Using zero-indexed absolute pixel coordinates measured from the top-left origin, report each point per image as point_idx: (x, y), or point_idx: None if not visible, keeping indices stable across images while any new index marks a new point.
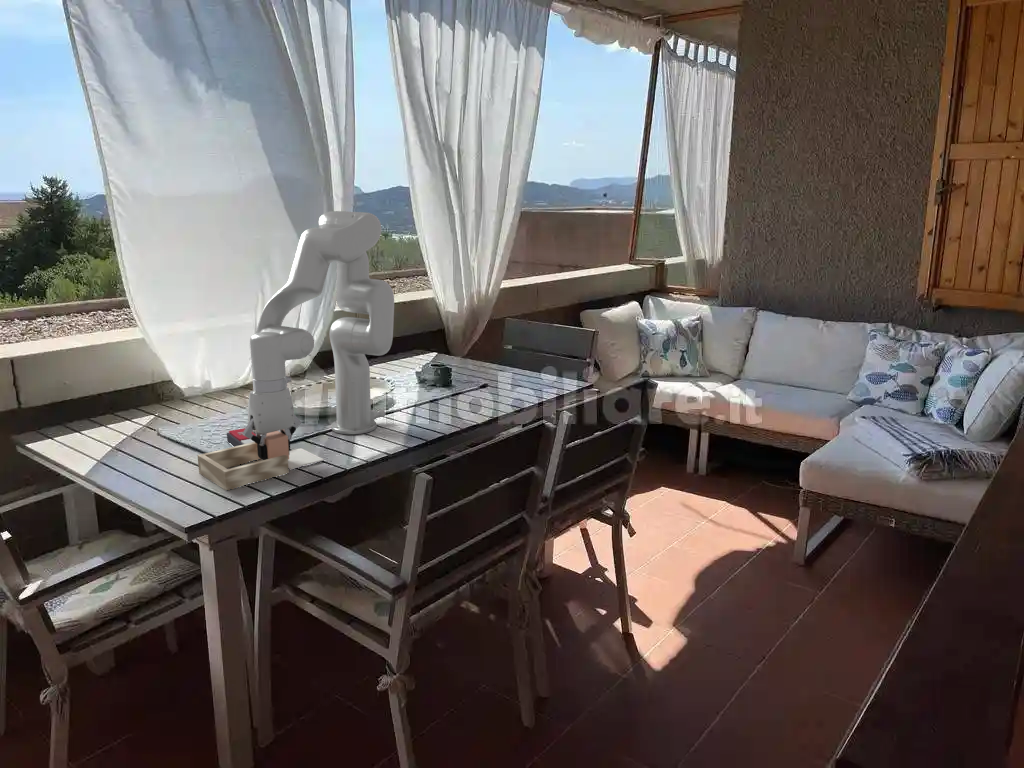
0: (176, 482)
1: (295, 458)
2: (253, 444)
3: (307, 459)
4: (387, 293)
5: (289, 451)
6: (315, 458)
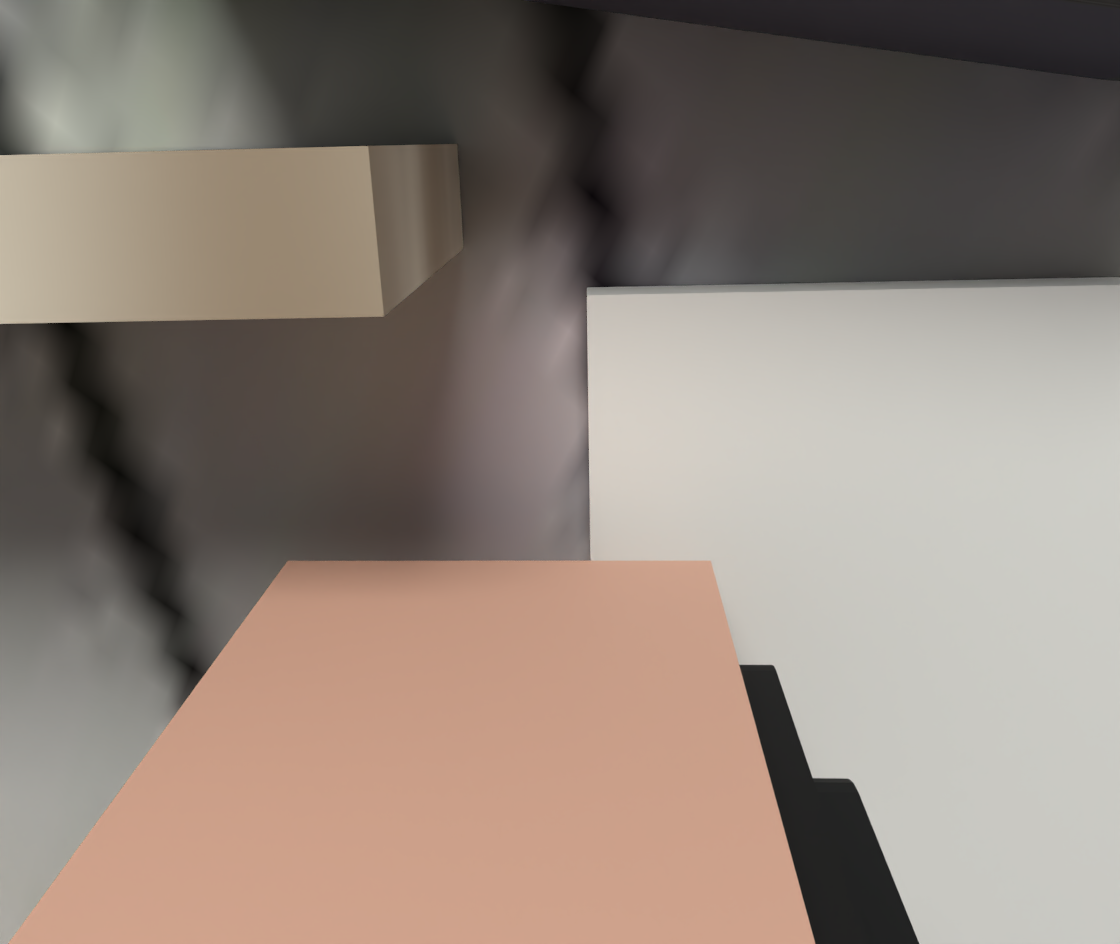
0: None
1: (891, 717)
2: (139, 319)
3: (997, 865)
4: None
5: (1065, 319)
6: (1115, 901)
